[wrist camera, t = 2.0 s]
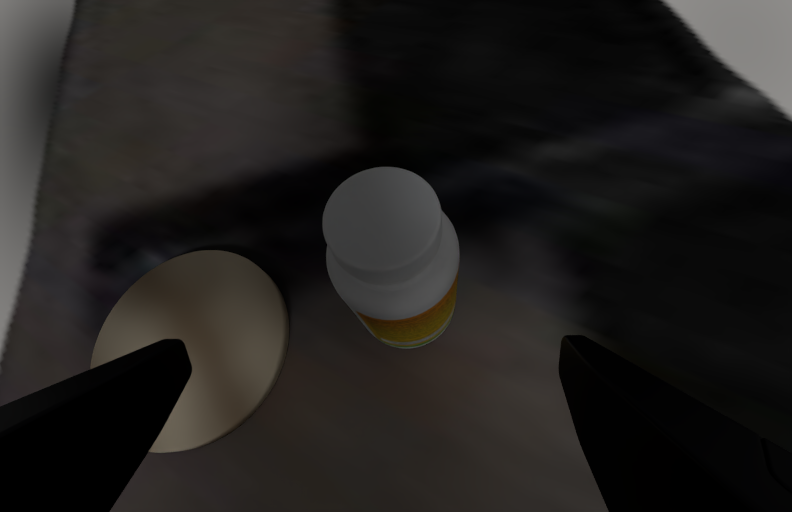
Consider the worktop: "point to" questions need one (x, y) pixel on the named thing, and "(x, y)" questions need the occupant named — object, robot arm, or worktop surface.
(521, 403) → the worktop surface
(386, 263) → the supplement bottle
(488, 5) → the worktop surface
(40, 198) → the worktop surface
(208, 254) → the oak coaster
